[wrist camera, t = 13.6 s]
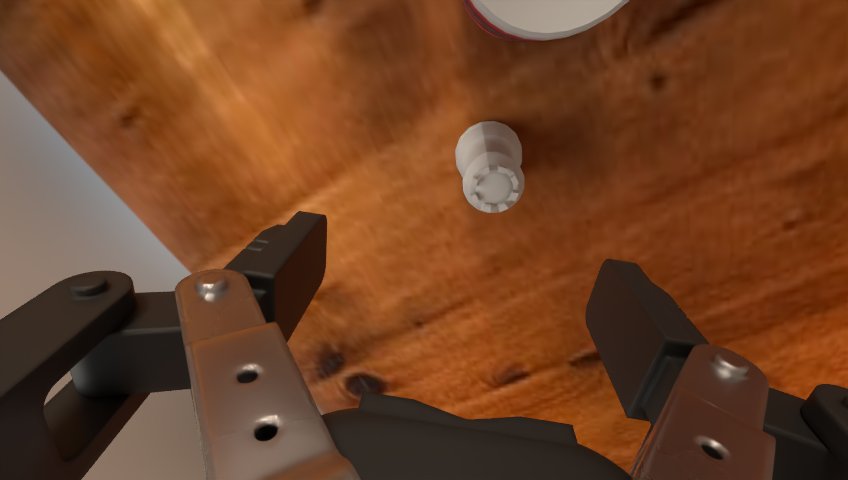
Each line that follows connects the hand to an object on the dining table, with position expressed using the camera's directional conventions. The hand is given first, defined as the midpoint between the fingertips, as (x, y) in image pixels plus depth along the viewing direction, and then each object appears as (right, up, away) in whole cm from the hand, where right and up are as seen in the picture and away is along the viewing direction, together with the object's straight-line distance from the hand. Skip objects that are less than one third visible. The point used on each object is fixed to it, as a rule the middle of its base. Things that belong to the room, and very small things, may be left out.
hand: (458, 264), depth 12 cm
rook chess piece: (+3, +7, +16) cm, 18 cm away
